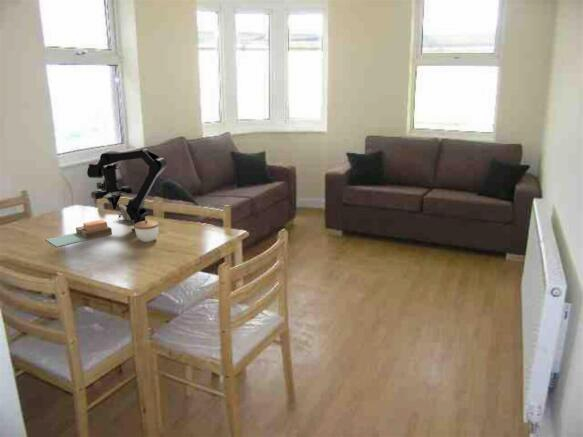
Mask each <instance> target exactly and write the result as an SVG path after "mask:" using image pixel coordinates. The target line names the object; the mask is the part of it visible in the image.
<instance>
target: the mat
mask: <svg viewBox="0 0 583 437" xmlns="http://www.w3.org/2000/svg"><path fill="white" fill-rule="evenodd" d="M45 241H47V242H48V243H50V244H51V245H52V246H54V247H55V248H59V247H64V246H68V245H72V244H77V243H82V242H85V241H86V242H87V241H88V240H87V239H85V238H84V237H82V236H80V235H78V234H77V233H76V232H74V233H69V234H66V235H61V236H54V237H52V238H46V239H45Z"/></svg>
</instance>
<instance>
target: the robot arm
mask: <svg viewBox="0 0 583 437" xmlns="http://www.w3.org/2000/svg"><path fill="white" fill-rule="evenodd" d="M135 159H142V161H144V162H145V164H146V165H147V166H148V171H147V172H148V173H147V176H146V178H145V179H144V182H143V183H142V185H141V186H140V188H139V191H138V192H137V194H136V196H134V197H132V198H131V199H129V201H128V203H127V205H125V207H127V208H126V211H127V214H128V215H129V217H130V219H131V220H133V221H132V222H133V228H131V231H133V232H135V227H134V225H135V224H136V223H138V222H141V221H145V220H147V219H146V217H147V216H148V214H149V211H148V210H146V208H145V203H146V202H145V201H146V198H147V197H148V195H149V193H150V191H151V189H152V187H153V186H154V184H155V182H156V179H157V178H158V177H159V176H160V175H161V174H162V173H163V172H164V170H165V169H166V168H167V165H168V163H167V159H165V158H164V157H161V156H159V155H158V154H156V153H154V152H152V151H151V150H149V149H148V148H142V149H135V150H127V151H121V152H120V151H113V150H111V151H110V150H109V151H106V152H104V153H101V154H100V156H99V161H98V162H97V163H89V164H88V167H87V172H86V175H87V177H88V178H91V179H103V183H102V181H100V182H99V181H98V182H96V188H97V190H94V191H91V193H90V195H91V196H90V197H91V198H92V199H95V200H100V199H104V198H105V199H107V201H108V202H109V204H110V207H111V208H112V210H113V211H114V210H116V208H117V206H118V202H119V200H120V198H121V197H122V196H123V195H122V194H121V193H125V194H127V195H128V194H132V193H133V192H134V191H133V188H132V187H131V186H129V185H124V186H123V185H122V186H120V187H119V186H118V183H119V180H118V176H117V170H118V169H120V168H121V166H119V165H118V164H117V162H121V161H122V162H123V161H129V160H135Z"/></svg>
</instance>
